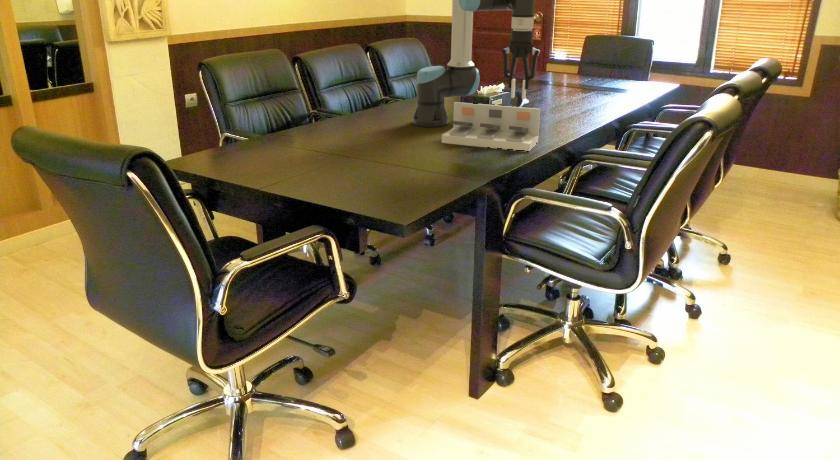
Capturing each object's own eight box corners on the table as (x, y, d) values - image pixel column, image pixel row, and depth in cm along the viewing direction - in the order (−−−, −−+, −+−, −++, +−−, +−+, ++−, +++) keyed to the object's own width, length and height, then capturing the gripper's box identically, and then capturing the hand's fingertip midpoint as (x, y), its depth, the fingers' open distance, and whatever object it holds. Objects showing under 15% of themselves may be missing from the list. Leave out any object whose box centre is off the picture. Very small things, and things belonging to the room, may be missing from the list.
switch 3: (508, 129, 234) (509, 125, 234) (515, 130, 243) (515, 126, 243) (522, 130, 232) (522, 126, 232) (528, 131, 242) (528, 127, 241)
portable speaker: (480, 115, 289) (480, 93, 285) (468, 111, 298) (469, 89, 294) (526, 110, 300) (527, 88, 296) (514, 106, 308) (515, 85, 304)
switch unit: (441, 142, 245) (442, 108, 240) (453, 134, 257) (454, 102, 252) (529, 151, 233) (531, 116, 228) (538, 142, 245) (540, 108, 240)
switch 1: (452, 124, 242) (452, 120, 242) (460, 125, 251) (460, 121, 251) (464, 125, 240) (464, 121, 240) (472, 126, 249) (472, 122, 249)
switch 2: (479, 126, 238) (480, 122, 238) (487, 127, 247) (487, 124, 247) (492, 127, 236) (493, 124, 236) (499, 129, 246) (500, 125, 245)
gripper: (496, 30, 221) (493, 98, 230) (543, 31, 215) (538, 101, 224) (502, 28, 227) (498, 94, 236) (548, 29, 222) (543, 97, 231)
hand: (518, 97), depth 230 cm, fingers open, 3 cm apart
